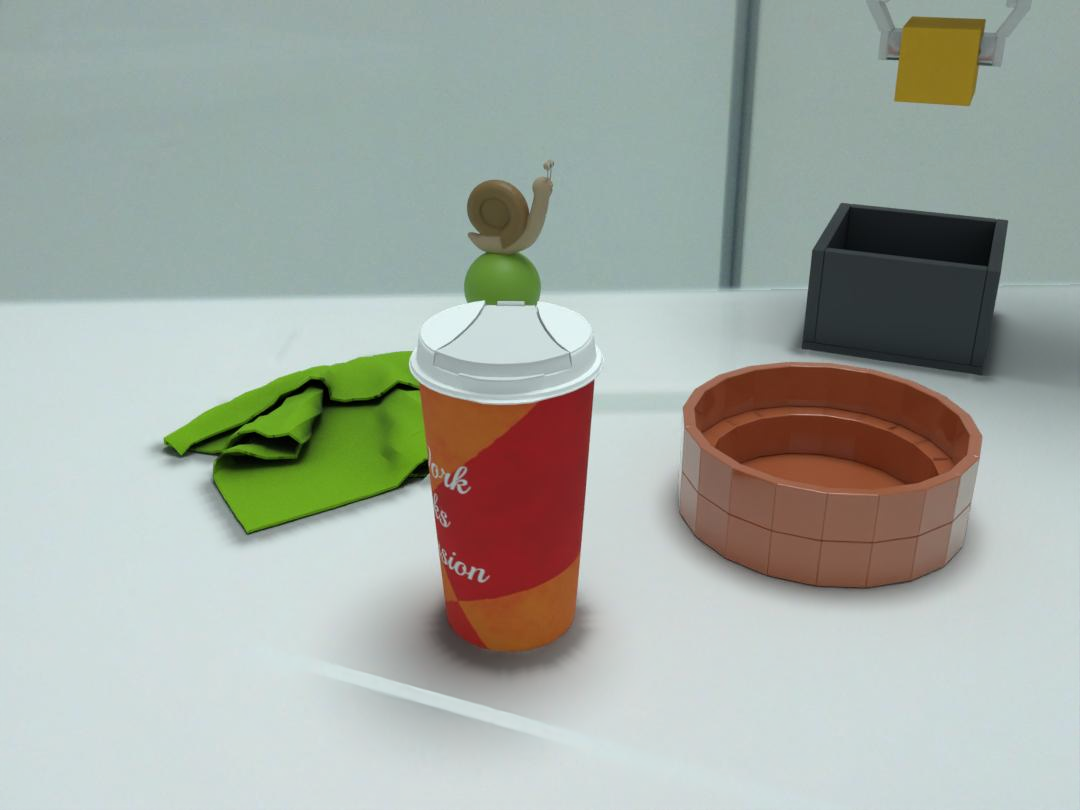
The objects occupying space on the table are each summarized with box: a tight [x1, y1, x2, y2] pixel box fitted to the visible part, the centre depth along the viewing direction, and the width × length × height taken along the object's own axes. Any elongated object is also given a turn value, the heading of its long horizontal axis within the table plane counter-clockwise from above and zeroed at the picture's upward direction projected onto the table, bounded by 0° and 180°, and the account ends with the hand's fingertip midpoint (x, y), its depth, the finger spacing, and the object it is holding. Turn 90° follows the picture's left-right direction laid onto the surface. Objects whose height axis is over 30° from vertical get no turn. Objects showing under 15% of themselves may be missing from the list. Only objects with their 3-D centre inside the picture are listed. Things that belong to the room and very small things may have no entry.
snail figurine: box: [463, 159, 555, 308], centre depth 80 cm, size 5×6×12 cm
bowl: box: [677, 361, 984, 588], centre depth 58 cm, size 14×14×6 cm
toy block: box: [893, 15, 987, 107], centre depth 72 cm, size 4×4×4 cm
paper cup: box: [409, 300, 605, 652], centre depth 48 cm, size 8×8×14 cm
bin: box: [801, 202, 1009, 376], centre depth 80 cm, size 12×12×7 cm
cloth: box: [163, 350, 430, 534], centre depth 67 cm, size 20×22×2 cm
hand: (938, 62), depth 72 cm, fingers closed on toy block, 4 cm apart
